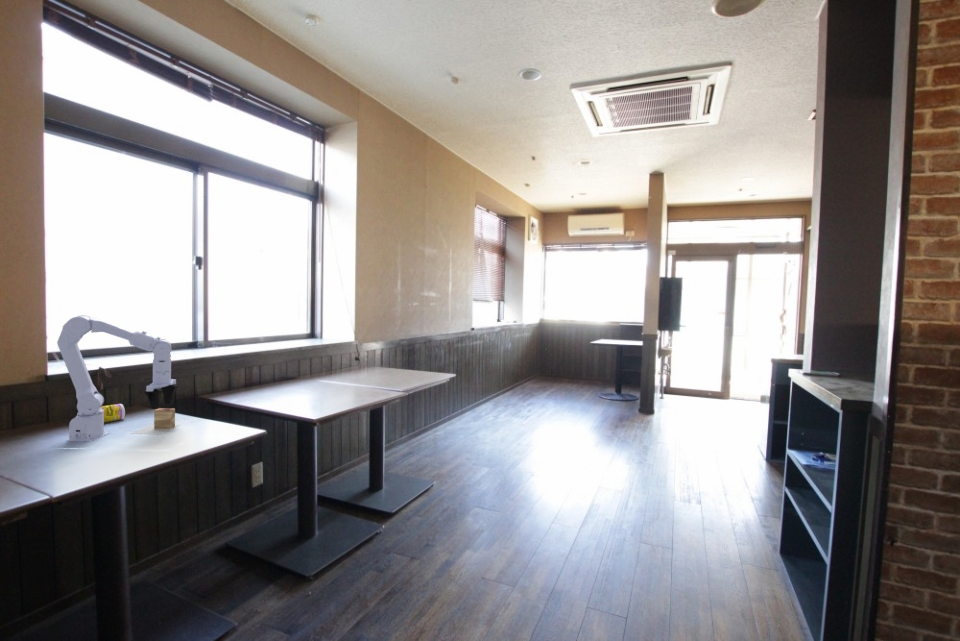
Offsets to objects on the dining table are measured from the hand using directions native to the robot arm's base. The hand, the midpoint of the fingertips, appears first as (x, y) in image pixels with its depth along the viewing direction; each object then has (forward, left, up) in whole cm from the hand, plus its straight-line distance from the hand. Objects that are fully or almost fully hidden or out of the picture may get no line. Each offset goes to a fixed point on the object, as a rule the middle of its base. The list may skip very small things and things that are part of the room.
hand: (161, 406), depth 172 cm
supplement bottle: (+13, +23, -6) cm, 27 cm away
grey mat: (-1, +1, -9) cm, 9 cm away
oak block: (+1, 0, -9) cm, 9 cm away
